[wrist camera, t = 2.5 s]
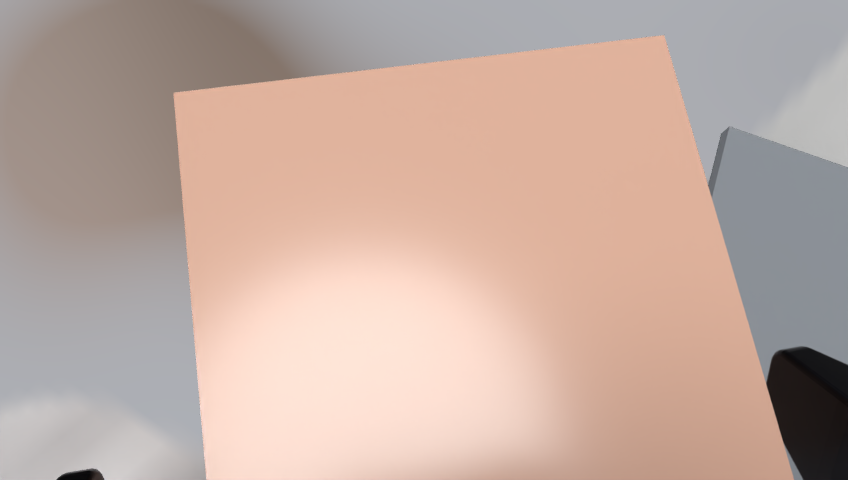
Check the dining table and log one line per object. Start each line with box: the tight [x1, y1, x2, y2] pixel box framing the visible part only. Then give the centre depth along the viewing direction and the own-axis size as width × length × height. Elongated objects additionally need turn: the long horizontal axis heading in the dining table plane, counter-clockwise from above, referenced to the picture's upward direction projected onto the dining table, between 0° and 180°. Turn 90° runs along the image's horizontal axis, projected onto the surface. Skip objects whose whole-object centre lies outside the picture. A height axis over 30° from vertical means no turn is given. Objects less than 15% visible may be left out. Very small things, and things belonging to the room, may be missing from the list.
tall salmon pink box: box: [174, 35, 794, 480], centre depth 12 cm, size 5×5×12 cm
